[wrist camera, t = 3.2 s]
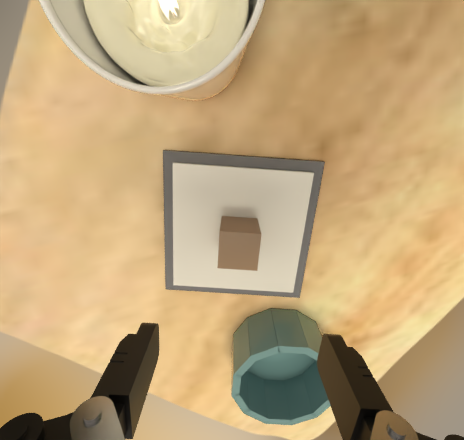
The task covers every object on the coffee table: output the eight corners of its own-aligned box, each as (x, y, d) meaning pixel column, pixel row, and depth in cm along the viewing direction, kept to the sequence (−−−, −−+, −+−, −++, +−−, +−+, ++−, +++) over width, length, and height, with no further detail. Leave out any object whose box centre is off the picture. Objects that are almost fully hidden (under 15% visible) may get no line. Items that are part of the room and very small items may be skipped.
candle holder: (156, -56, 19) (46, -315, 8) (272, 11, 21) (320, -132, 9) (118, 79, 22) (-1, 28, 11) (222, 129, 24) (212, 131, 12)
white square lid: (312, 172, 24) (329, 181, 20) (291, 289, 29) (302, 318, 24) (174, 162, 24) (160, 169, 20) (174, 282, 29) (164, 309, 24)
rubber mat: (323, 161, 24) (324, 162, 24) (298, 295, 30) (299, 297, 29) (164, 150, 24) (163, 150, 24) (166, 287, 29) (165, 289, 29)
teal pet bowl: (330, 312, 30) (350, 350, 25) (313, 381, 34) (328, 426, 29) (235, 306, 30) (236, 343, 25) (229, 376, 34) (228, 421, 29)
